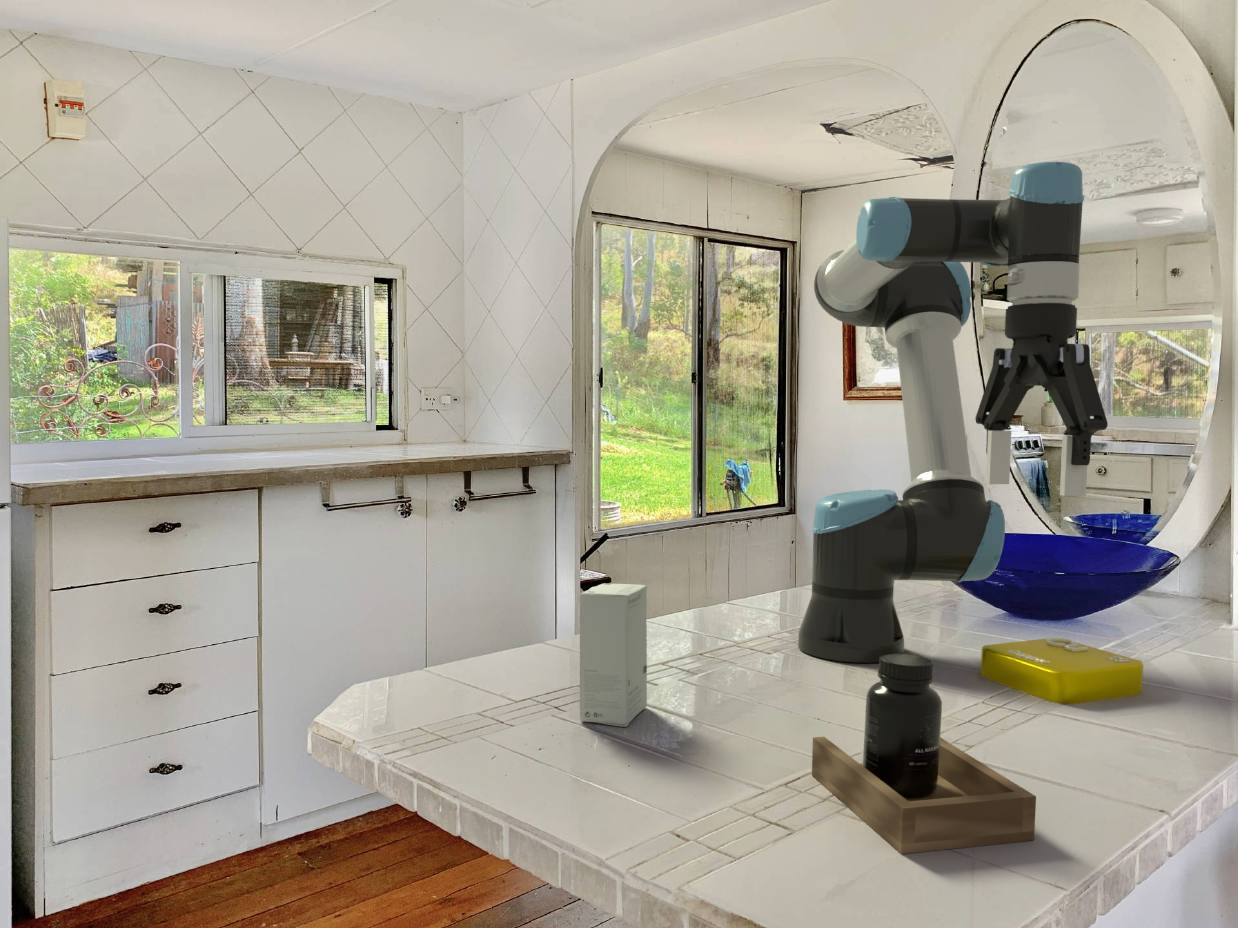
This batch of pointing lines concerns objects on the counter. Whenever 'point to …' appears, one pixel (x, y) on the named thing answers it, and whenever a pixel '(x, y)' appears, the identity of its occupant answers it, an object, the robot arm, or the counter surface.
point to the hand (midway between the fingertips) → (1032, 489)
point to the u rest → (931, 802)
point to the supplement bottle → (903, 726)
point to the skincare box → (613, 653)
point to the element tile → (1062, 670)
